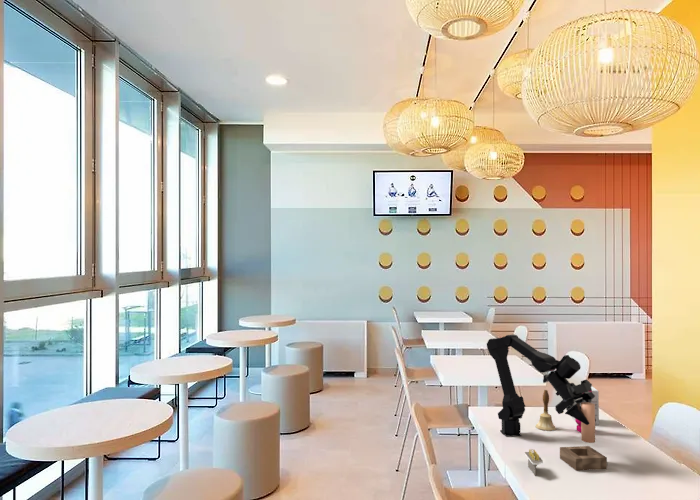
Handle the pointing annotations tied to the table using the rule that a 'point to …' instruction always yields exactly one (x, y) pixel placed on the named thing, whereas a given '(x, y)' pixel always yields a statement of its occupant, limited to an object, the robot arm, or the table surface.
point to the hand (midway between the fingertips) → (591, 422)
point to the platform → (531, 461)
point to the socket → (583, 458)
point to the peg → (589, 429)
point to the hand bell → (545, 416)
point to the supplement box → (596, 402)
